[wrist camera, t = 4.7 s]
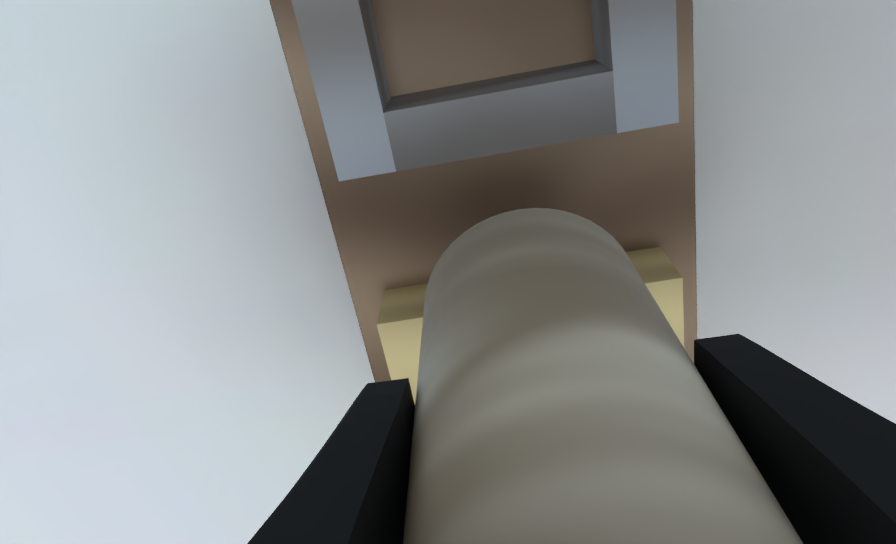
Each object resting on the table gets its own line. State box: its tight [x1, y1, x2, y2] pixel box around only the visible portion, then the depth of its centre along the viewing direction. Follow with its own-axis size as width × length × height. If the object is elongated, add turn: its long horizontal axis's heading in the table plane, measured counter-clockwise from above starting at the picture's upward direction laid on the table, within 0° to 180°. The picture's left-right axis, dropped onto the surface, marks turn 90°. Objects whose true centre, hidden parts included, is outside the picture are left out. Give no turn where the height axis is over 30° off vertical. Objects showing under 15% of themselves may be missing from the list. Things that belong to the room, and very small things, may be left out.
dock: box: [270, 0, 697, 404], centre depth 17 cm, size 22×10×3 cm, turn 10°
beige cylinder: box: [403, 208, 803, 544], centre depth 8 cm, size 4×4×8 cm
